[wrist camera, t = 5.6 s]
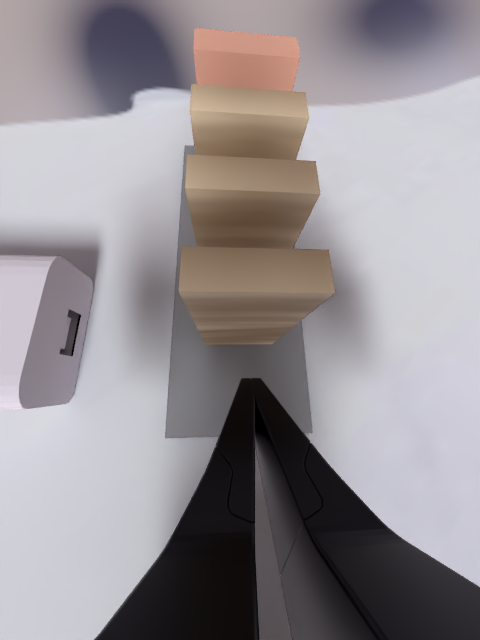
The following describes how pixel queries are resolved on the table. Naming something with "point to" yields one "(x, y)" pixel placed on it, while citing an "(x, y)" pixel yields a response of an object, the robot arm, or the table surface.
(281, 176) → the domino
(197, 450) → the table surface
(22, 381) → the charger
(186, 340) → the domino mat
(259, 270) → the domino
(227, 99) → the domino
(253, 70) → the domino
